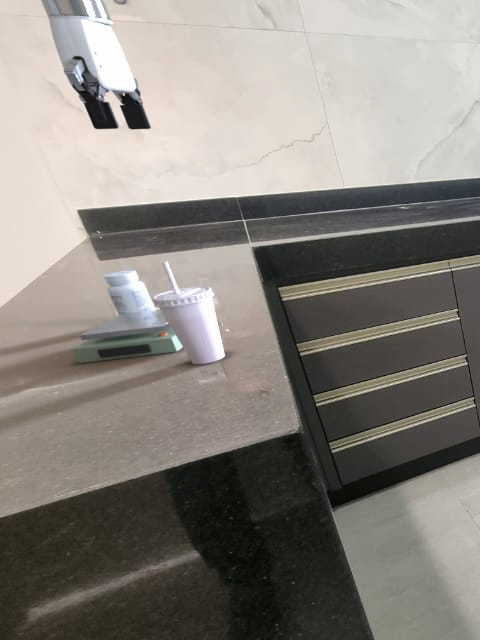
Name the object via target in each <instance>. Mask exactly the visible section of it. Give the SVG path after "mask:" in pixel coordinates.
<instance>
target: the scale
mask: <svg viewBox="0 0 480 640" xmlns="http://www.w3.org/2000/svg"><path fill="white" fill-rule="evenodd" d="M182 349H184V348H183V346H182V345H181V343H180V341H179V340H178V338H177V336H176V335H175V333H174V331H173V330H172V328H171V327H170V328H169V329H167V330H166V331H162V332H153V333H144V334H135V335H126V336H117V337H107V338H98V339H89V340H85V341H84V342H82V343H81V344H79V345H77V346H75V347H73V348H71V351H72V354H73V355H74V357H75V359H76V361H77V363H78V364H84V363H85V364H86V363H93V362H102V361H110V360H118V359H125V358H127V359H128V358H134V357H142V356H143V357H144V356H152V355H159V354H167V353H169V354H170V353H177V352H179V351H180V350H182Z"/></svg>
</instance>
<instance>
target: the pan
mask: <svg viewBox="0 0 480 640" xmlns="http://www.w3.org/2000/svg"><path fill="white" fill-rule="evenodd" d="M169 328H170V325H169V323H168V322H167V320H166V319H165V317H164V315H163V313H162V312H161V310H160V309H155V310H152V311H142V312H132V313H123V314H120V315H119V314H118V315H116V316H114V317H112V318H110V319H108V320H106V321H104V322H102V323H101V324H98V325H96V326H95V327H92V328H91V329H89V330H86V331H85V332H82V333H81V334H79V337H80V340H81V341H88V340H90V339H98V338H107V337H117V336H126V335H135V334H144V333H153V332H162V331H166V330H167V329H169Z"/></svg>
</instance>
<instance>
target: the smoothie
mask: <svg viewBox="0 0 480 640" xmlns="http://www.w3.org/2000/svg"><path fill="white" fill-rule="evenodd" d="M161 264H162V266H163V269H164V271H165V273H166V277H167V278H168V281H169V283H170V285H171V288H172V290H167V291H165V292H161V293H157V294H155V295H154V296H153V297H152V299H151V300H152V303H153V305H154V307H156V308H157V307H158V309H159V310H161V312H162V313H163V315H164V317H165V319H166V320H167V322H168V323H169V325H170V327H171V328H172V330H173V331H174V333H175V335H176V336H177V338H178V340H179V341H180V343H181V345H182V346H183V348H182V349H184V351H185V353H186V355H187V356H188V358H189V360H190V361H191V363H192V364H193V365H205V364H210V363H214V362H218V361H220V360H221V359H223V358H224V357H226V355H225V350H224V346H223V341H222V336H221V333H220V328H219V322H218V317H217V314H216V310H215V305H214V301H213V300H214V299H213V297H214V296H215V293H214V292H213V290H212V287H209V286H190V287H182V288H179V287H178V284H177V282H176V280H175V277H174V275H173V272H172V270H171V267H170V264H169V262H168V261H162V262H161Z"/></svg>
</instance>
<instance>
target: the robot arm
mask: <svg viewBox="0 0 480 640" xmlns="http://www.w3.org/2000/svg"><path fill="white" fill-rule="evenodd" d="M40 1H41V3H42V6H43V8H44V11H45V13H46V16H47V17H48V23H49V27H50V31H51V35H52V39H53V43H54V45H55V48H56V51H57V54H58V57H59V60H60V63H61V65H62V68H63V73H64V75H65V77H66V78H67V80H68V82H69V85H70V86H71V87H72V89H74V90H75V92H76V93H77V94H78V99H79V100H80V101H81V102H82V103H83V105H84V107H85V110H86V112H87V115H88V117H89V120H90V122H91V124H92V126H93V128H94V129H95V130H117V129H119V128H120V127H119V126H120V125H119V123H118V121H117V119H116V115H115V114H114V111H113V108H112V106H111V103H110V102H109V101H106V93H109V92H110V91H111V92H112V93H113V94H114V96H115V97H116V99H118V101H119V102H120V103H121V104H119V107H120V110H121V113H122V115H123V117H124V120H125V122H126V126H127V128H128V129H130V130H150V129H152V127H151V123H150V121H149V118H148V116H147V112H146V110H145V108H144V101H143V99H142V98H141V91H140V89H139V82H138V80H137V78H136V77H134V75H133V73H132V70H131V68H130V65H129V62H128V61H127V58H126V56H125V53H124V51H123V49H122V46H121V45H120V43H119V41H118V39H117V36H116V34H115V32H114V30H113V29H112V27H114V22H113V20H112V17H111V15H110V12H109V9H108V7H107V4H106V2H105V0H40Z"/></svg>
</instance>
